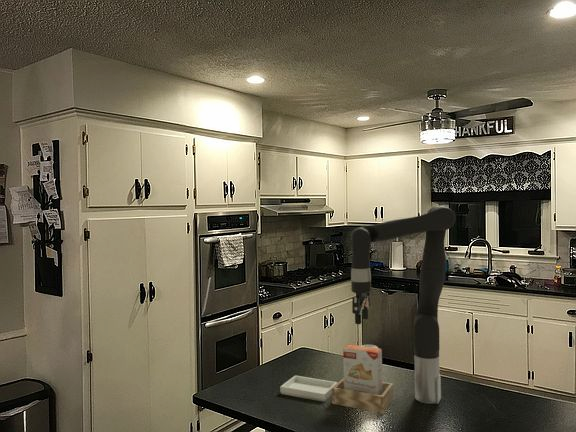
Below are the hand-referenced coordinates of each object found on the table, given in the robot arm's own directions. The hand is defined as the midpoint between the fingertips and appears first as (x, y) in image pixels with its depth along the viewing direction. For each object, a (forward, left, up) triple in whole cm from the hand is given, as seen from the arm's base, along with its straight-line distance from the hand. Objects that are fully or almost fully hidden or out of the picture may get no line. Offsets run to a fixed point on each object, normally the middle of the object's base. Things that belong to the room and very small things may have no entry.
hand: (361, 321), depth 182 cm
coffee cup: (+4, -20, -31) cm, 37 cm away
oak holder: (0, 0, -31) cm, 31 cm away
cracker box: (0, 0, -31) cm, 31 cm away
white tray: (+23, 0, -31) cm, 39 cm away
